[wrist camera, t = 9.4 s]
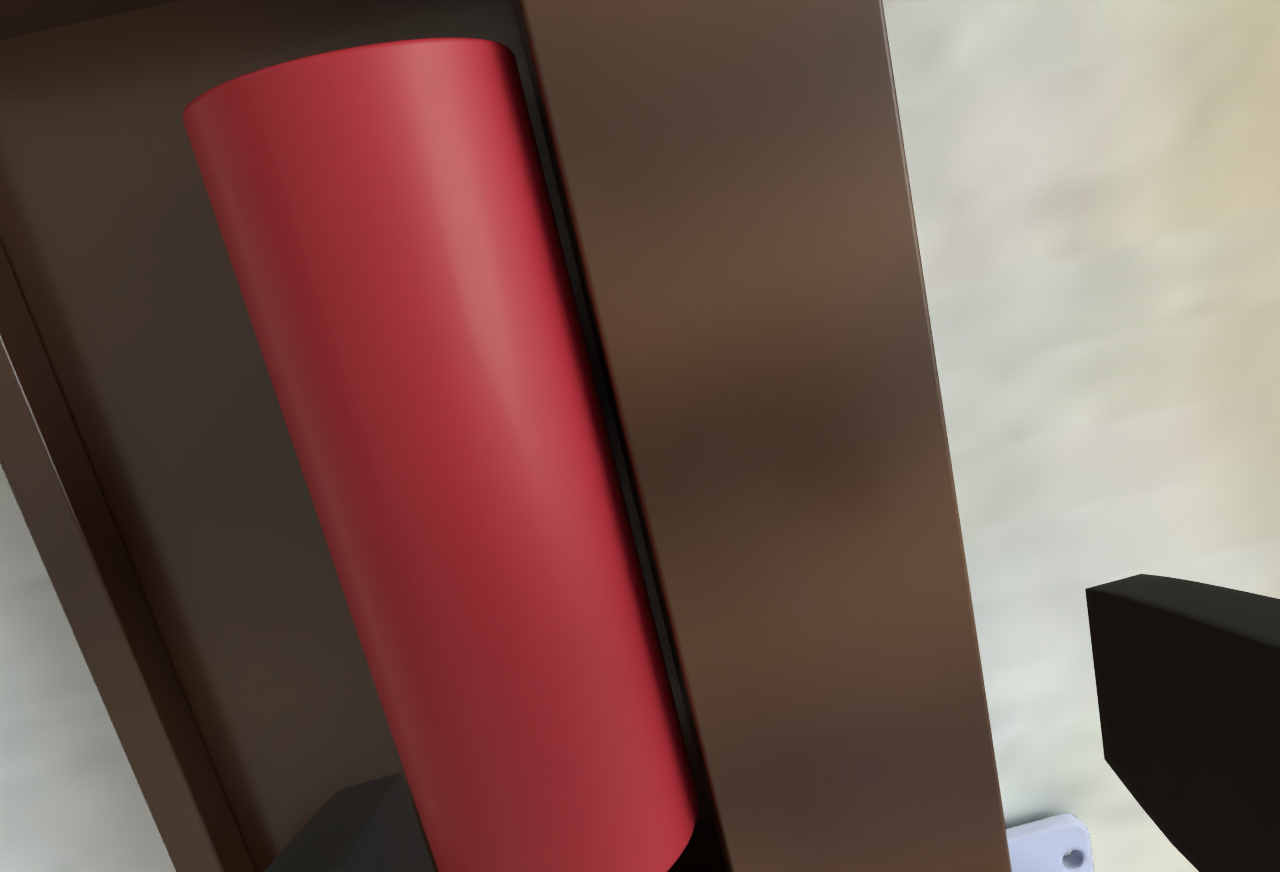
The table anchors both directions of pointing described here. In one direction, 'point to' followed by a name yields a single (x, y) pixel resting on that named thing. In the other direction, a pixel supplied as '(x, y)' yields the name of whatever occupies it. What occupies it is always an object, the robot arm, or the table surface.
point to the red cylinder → (454, 446)
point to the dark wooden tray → (628, 389)
